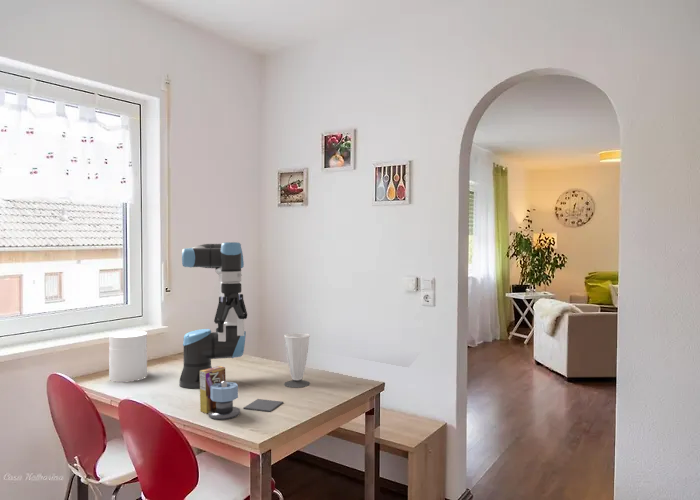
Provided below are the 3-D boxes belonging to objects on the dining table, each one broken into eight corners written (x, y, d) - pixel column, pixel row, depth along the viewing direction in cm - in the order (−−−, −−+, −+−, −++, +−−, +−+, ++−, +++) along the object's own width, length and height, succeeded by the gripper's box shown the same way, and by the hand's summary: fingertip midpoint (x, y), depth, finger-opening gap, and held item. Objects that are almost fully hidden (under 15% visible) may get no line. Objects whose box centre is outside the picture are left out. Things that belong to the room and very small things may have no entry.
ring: (206, 400, 178) (206, 387, 178) (220, 393, 187) (220, 381, 187) (228, 402, 175) (228, 390, 175) (241, 395, 184) (241, 383, 184)
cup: (289, 389, 212) (289, 338, 212) (280, 382, 223) (280, 333, 222) (314, 385, 218) (314, 336, 217) (304, 379, 228) (304, 331, 228)
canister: (101, 380, 227) (100, 335, 226) (128, 371, 242) (128, 330, 241) (128, 383, 221) (127, 338, 220) (154, 374, 236) (154, 332, 235)
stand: (202, 417, 178) (202, 384, 177) (219, 408, 188) (219, 376, 188) (229, 421, 174) (229, 386, 174) (245, 411, 185) (245, 378, 184)
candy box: (219, 405, 191) (219, 365, 191) (226, 407, 189) (226, 367, 188) (199, 411, 185) (199, 369, 184) (206, 413, 182) (205, 371, 182)
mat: (243, 408, 187) (243, 407, 187) (257, 400, 198) (257, 398, 198) (270, 412, 184) (270, 410, 184) (283, 402, 194) (283, 401, 194)
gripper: (222, 284, 179) (222, 344, 178) (255, 281, 202) (256, 333, 202) (204, 284, 181) (204, 343, 181) (239, 281, 205) (239, 333, 204)
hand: (231, 338), depth 191 cm, fingers open, 13 cm apart
